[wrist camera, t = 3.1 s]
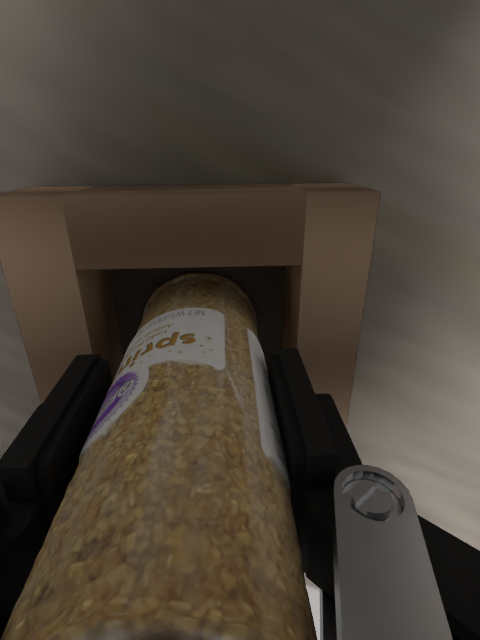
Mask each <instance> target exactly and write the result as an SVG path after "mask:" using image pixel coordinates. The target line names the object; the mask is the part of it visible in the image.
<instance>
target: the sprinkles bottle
mask: <svg viewBox="0 0 480 640" xmlns="http://www.w3.org/2000/svg"><path fill="white" fill-rule="evenodd" d="M257 331H258V326H257V315H256V311H255V309H254V307H253V305H252V303H251V302H250V299H249V297H248V295H246V294H245V293H244V292H243V291H242V289H241V288H240V287H238V285H237V284H236V283H234V282H233V281H231V280H230V279H227V278H225V277H222V276H219V275H216V274H212V273H195V272H194V273H189V274H182V275H180V276H177V277H175V278H173V279H170V280H169V281H168V282H166V283H164V284H163V285H162V286H160V287H159V288H157V289H156V290H155V291H154V293H153V294H152V295H151V297H150V298H149V299H148V301H147V304H146V306H145V309H144V311H143V316H142V322H141V325H140V327H139V329H138V331H137V334H136V335H135V337H134V338H133V340H132V341H131V343H130V345H129V346H128V349H127V351H126V353H125V355H124V358H123V360H122V362H121V364H120V366H119V369H118V371H117V373H116V375H115V378H114V380H113V382H112V384H111V386H110V388H109V390H108V393H107V395H106V397H105V399H104V402H103V404H102V406H101V408H100V411H99V413H98V415H97V417H96V420H95V422H94V424H93V426H92V429H91V431H90V433H89V435H88V437H87V439H86V442H85V444H84V446H83V448H82V451H81V453H80V456H79V464H78V466H77V469H76V471H75V473H74V475H73V477H72V480H71V481H70V483H69V485H68V487H67V490H66V493H65V496H64V498H63V500H62V502H61V504H60V507H59V509H58V511H57V513H56V515H55V517H54V519H53V521H52V524H51V526H50V529H49V531H48V534H47V536H46V539H45V541H44V544H43V546H42V549H41V550H40V552H39V554H38V556H37V557H36V560H35V563H34V566H33V568H32V571H31V573H30V575H29V577H28V579H27V581H26V583H25V586H24V589H23V591H22V593H21V595H20V597H19V599H18V601H17V602H16V604H15V606H14V608H13V611H12V613H11V616H10V619H9V621H8V624H7V626H6V628H5V631H4V633H3V636H2V638H1V640H317V636H316V631H315V626H314V621H313V616H312V612H311V607H310V602H309V597H308V593H307V589H306V586H305V585H306V584H305V578H304V572H303V565H302V555H301V550H300V546H299V542H298V537H297V531H296V525H295V519H294V513H293V508H292V491H291V483H290V478H289V473H288V468H287V463H286V458H285V453H284V448H283V443H282V438H281V434H280V429H279V425H278V420H277V415H276V410H275V406H274V401H273V397H272V392H271V387H270V382H269V377H268V372H267V368H266V363H265V359H264V354H263V351H262V348H261V345H260V343H259V341H258V335H257Z"/></svg>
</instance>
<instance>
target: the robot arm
mask: <svg viewBox="0 0 480 640" xmlns="http://www.w3.org/2000/svg"><path fill="white" fill-rule="evenodd" d="M269 382H270V387H271V392H272V397H273V401H274V406H275V410H276V415H277V420H278V425H279V429H280V434H281V438H282V443H283V448H284V453H285V458H286V463H287V468H288V473H289V478H290V483H291V491H292V508H293V513H294V519H295V525H296V531H297V537H298V542H299V546H300V550H301V555H302V565H303V572H306V577H307V578H308V579H309V580H311V581H312V582H313V583H314V584H315V585H317V586H318V587H319V588H320V640H480V551H479V550H477V549H475V548H474V547H472V546H470V545H468V544H467V543H465V542H463V541H462V540H460V539H458V538H456V537H455V536H453V535H451V534H450V533H448V532H446V531H444V530H443V529H441V528H439V527H438V526H436V525H434V524H432V523H431V522H429V521H427V520H426V519H424V518H422V517H420V516H419V515H417V512H416V509H415V505H414V502H413V499H412V497H411V495H410V493H409V490H408V489H407V488H406V487H405V485H404V484H403V483H402V482H401V481H400V480H399V479H398V478H396V477H395V476H394V475H392V474H391V473H389V472H387V471H385V470H383V469H381V468H378V467H374V466H369V465H362V462H361V460H360V458H359V456H358V454H357V451H356V449H355V447H354V445H353V442H352V440H351V438H350V436H349V434H348V431H347V429H346V427H345V425H344V422H343V420H342V418H341V416H340V413H339V411H338V409H337V407H336V405H335V402H334V400H333V398H332V396H331V395H330V394H329V393H321V394H315V392H314V390H313V387H312V384H311V382H310V379H309V377H308V374H307V371H306V369H305V366H304V364H303V361H302V358H301V356H300V353H299V351H298V349H297V348H286V349H277V354H270V363H269ZM111 384H112V377H111V372H110V366H109V362H108V360H107V359H102V357H101V355H99V354H83V355H77V356H76V357H75V358H74V360H73V361H72V362H71V364H70V365H69V367H68V368H67V369H66V371H65V372H64V374H63V375H62V377H61V378H60V379H59V381H58V382H57V384H56V385H55V386H54V388H53V389H52V391H51V392H50V394H49V395H48V396H47V398H46V399H45V401H44V402H43V403H42V404H41V405H40V406H39V407H38V408H37V409H36V410H35V412H34V413H33V414H32V416H31V417H30V419H29V420H28V421H27V423H26V424H25V426H24V427H23V428H22V430H21V431H20V433H19V434H18V435H17V437H16V438H15V440H14V441H13V442H12V444H11V445H10V447H9V448H8V449H7V451H6V452H5V454H4V455H3V456H2V458H1V459H0V640H1V638H2V636H3V633H4V631H5V628H6V626H7V624H8V621H9V619H10V616H11V613H12V611H13V608H14V606H15V604H16V602H17V601H18V599H19V597H20V595H21V593H22V591H23V589H24V586H25V583H26V581H27V579H28V577H29V575H30V573H31V571H32V568H33V566H34V563H35V560H36V557H37V556H38V554H39V552H40V550H41V549H42V546H43V544H44V541H45V539H46V536H47V534H48V531H49V529H50V526H51V524H52V521H53V519H54V517H55V515H56V513H57V511H58V509H59V507H60V504H61V502H62V500H63V498H64V496H65V493H66V490H67V487H68V485H69V483H70V481H71V480H72V477H73V475H74V473H75V471H76V469H77V466H78V464H79V456H80V453H81V451H82V448H83V446H84V444H85V442H86V439H87V437H88V435H89V433H90V431H91V429H92V426H93V424H94V422H95V420H96V417H97V415H98V413H99V411H100V408H101V406H102V404H103V402H104V399H105V397H106V395H107V393H108V390H109V388H110V386H111Z"/></svg>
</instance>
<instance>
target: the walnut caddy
mask: <svg viewBox="0 0 480 640" xmlns="http://www.w3.org/2000/svg"><path fill="white" fill-rule="evenodd" d="M380 193H381V192H380V191H376V190H372V189H368V188H364V187H360V186H356V185H352V184H349V183H296V184H212V185H128V186H45V187H30V188H25V189H20V190H15V191H10V192H5V193H0V262H1V266H2V269H3V273H4V276H5V279H6V283H7V286H8V290H9V293H10V297H11V300H12V304H13V307H14V311H15V314H16V317H17V321H18V324H19V328H20V331H21V335H22V338H23V342H24V345H25V348H26V352H27V355H28V359H29V362H30V366H31V369H32V373H33V376H34V380H35V383H36V386H37V390H38V393H39V397H40V400H41V404H42V403H43V402H44V401H45V399H46V398H47V396H48V395H49V394H50V392H51V391H52V389H53V388H54V386H55V385H56V384H57V382H58V381H59V379H60V378H61V377H62V375H63V374H64V372H65V371H66V369H67V368H68V367H69V365H70V364H71V362H72V361H73V360H74V358H75V357H76V356H77V355H83V354H99V355H101V357H102V359H107V360H108V362H109V366H110V372H111V377H112V382H113V380H114V378H115V375H116V373H117V371H118V369H119V366H120V364H121V362H122V360H123V358H124V355H123V349H122V343H121V337H120V331H119V325H118V319H117V312H116V306H115V300H114V294H113V288H112V282H111V276H110V269H142V268H190V267H238V266H285V273H284V295H283V318H282V340H281V349H286V348H297V349H298V351H299V353H300V356H301V358H302V361H303V364H304V366H305V369H306V371H307V374H308V377H309V379H310V382H311V384H312V387H313V390H314V392H315V394H321V393H329V394H330V395H331V396H332V398H333V400H334V402H335V405H336V407H337V409H338V411H339V413H340V416H341V418H342V420H343V422H344V425H345V427H346V426H347V419H348V412H349V406H350V399H351V392H352V385H353V378H354V371H355V364H356V358H357V351H358V344H359V337H360V330H361V323H362V316H363V310H364V303H365V296H366V289H367V282H368V275H369V268H370V262H371V255H372V248H373V241H374V234H375V227H376V220H377V214H378V207H379V200H380Z"/></svg>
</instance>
